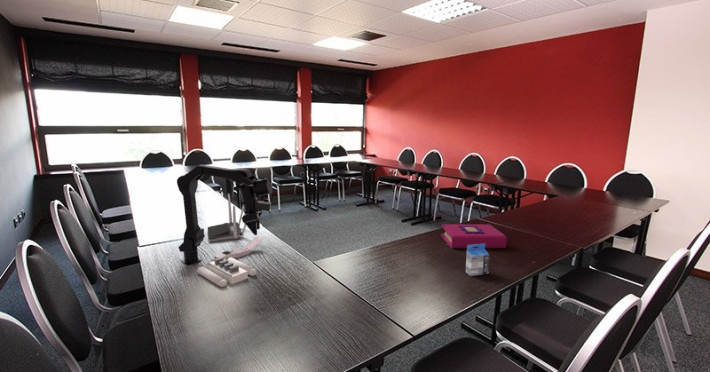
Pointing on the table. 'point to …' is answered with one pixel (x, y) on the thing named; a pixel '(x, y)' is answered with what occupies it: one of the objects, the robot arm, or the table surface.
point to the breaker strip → (227, 270)
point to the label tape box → (477, 260)
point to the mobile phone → (239, 250)
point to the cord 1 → (212, 276)
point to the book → (473, 236)
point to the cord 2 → (243, 266)
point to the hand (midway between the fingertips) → (257, 232)
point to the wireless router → (227, 227)
